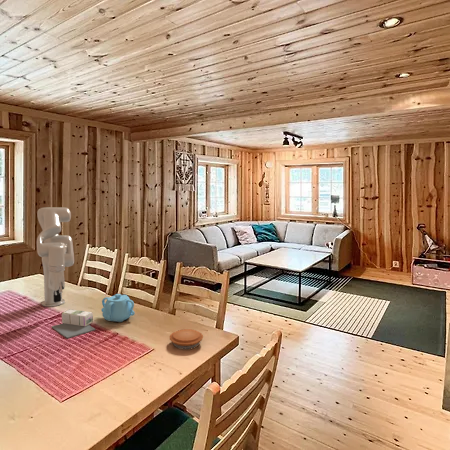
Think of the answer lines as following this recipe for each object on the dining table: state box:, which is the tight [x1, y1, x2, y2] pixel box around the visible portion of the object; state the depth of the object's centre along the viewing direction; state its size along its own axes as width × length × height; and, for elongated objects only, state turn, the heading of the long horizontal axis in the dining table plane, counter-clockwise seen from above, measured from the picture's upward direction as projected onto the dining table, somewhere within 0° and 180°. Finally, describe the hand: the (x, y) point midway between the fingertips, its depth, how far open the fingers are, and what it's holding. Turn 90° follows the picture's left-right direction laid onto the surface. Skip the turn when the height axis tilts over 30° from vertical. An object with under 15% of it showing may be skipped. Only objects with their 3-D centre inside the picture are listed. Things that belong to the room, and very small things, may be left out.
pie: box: [169, 328, 204, 350], centre depth 155 cm, size 15×16×5 cm
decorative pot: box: [100, 293, 136, 323], centre depth 182 cm, size 16×16×14 cm
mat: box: [51, 323, 96, 339], centre depth 167 cm, size 18×14×1 cm
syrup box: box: [61, 308, 94, 326], centre depth 173 cm, size 6×6×14 cm
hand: (57, 301), depth 179 cm, fingers closed
